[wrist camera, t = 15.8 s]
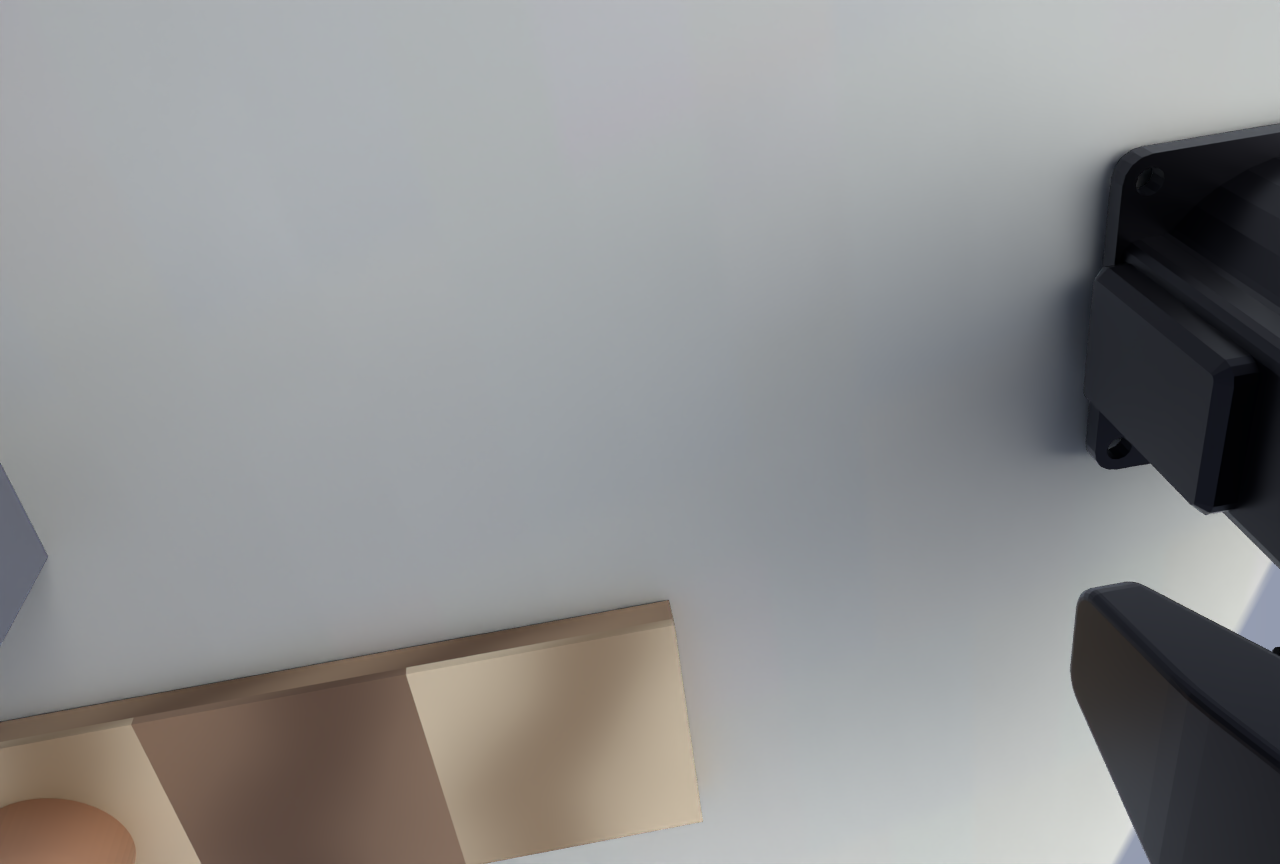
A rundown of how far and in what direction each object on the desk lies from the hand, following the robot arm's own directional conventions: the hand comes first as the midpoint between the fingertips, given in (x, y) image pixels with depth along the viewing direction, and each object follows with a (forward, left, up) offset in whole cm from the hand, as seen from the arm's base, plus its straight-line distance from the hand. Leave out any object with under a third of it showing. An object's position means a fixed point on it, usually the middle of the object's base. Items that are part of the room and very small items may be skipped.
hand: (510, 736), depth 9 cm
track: (+9, +12, -12) cm, 19 cm away
